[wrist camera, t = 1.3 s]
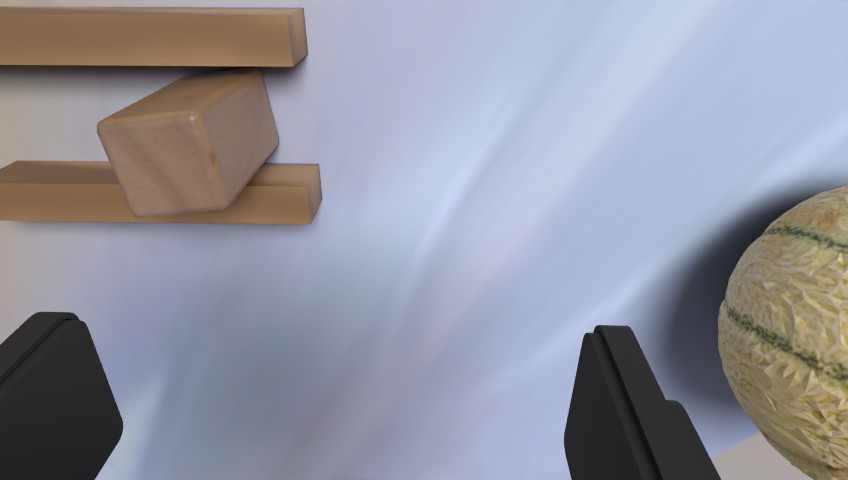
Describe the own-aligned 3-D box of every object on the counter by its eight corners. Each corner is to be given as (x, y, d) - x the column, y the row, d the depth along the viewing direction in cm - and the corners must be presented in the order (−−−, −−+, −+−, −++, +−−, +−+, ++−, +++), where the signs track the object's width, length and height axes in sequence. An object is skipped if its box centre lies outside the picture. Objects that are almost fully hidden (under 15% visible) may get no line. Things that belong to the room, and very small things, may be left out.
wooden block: (262, 64, 26) (195, 109, 19) (282, 144, 28) (229, 212, 21) (182, 74, 26) (87, 123, 19) (208, 153, 28) (130, 223, 21)
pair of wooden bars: (322, 198, 29) (310, 224, 26) (30, 195, 29) (-11, 220, 27) (303, 7, 25) (287, 15, 22) (-43, 6, 25) (-100, 13, 22)
